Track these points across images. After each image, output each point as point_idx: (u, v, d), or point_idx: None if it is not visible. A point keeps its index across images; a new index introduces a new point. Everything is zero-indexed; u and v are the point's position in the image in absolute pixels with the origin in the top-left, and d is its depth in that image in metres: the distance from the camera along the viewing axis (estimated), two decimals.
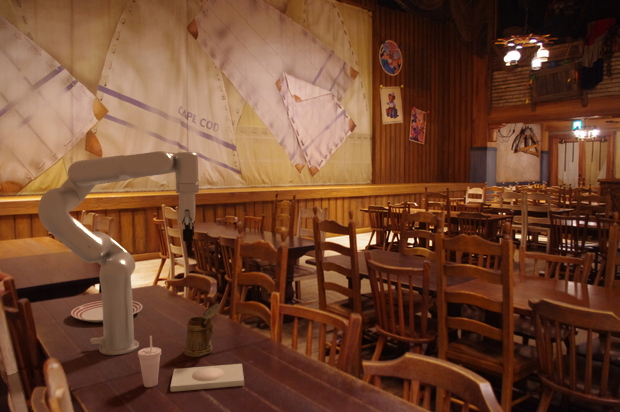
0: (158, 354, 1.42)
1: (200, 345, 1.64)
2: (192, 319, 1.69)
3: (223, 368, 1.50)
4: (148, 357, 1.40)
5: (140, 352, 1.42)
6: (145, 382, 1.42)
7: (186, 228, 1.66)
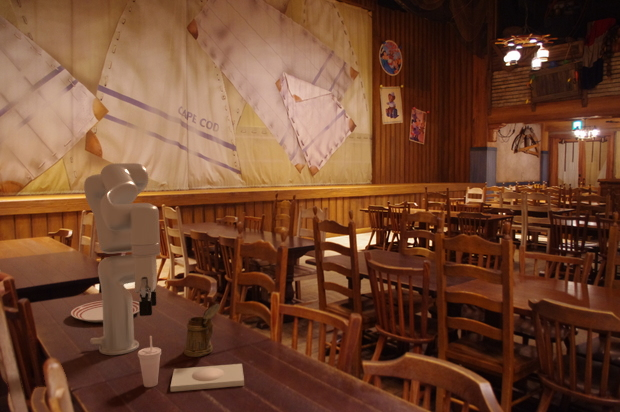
0: (158, 354, 1.42)
1: (200, 345, 1.64)
2: (192, 319, 1.69)
3: (223, 368, 1.50)
4: (148, 357, 1.40)
5: (140, 352, 1.42)
6: (145, 382, 1.42)
7: (143, 300, 1.35)
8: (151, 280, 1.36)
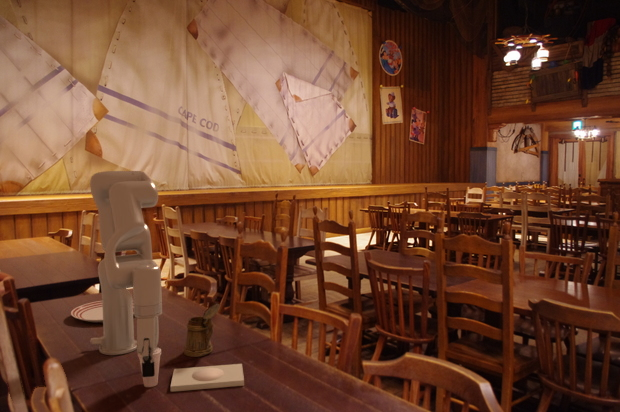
0: (158, 354, 1.42)
1: (200, 345, 1.64)
2: (192, 319, 1.69)
3: (223, 368, 1.50)
4: None
5: (140, 352, 1.42)
6: (145, 382, 1.42)
7: (146, 362, 1.38)
8: (153, 341, 1.38)
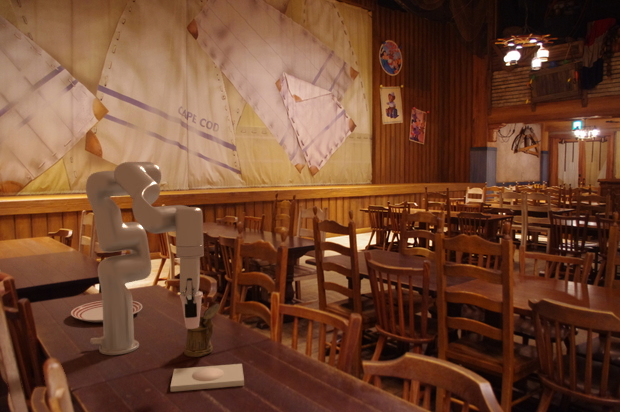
0: (200, 296, 1.42)
1: (200, 345, 1.64)
2: None
3: (223, 368, 1.50)
4: None
5: (182, 294, 1.43)
6: (187, 324, 1.42)
7: (189, 303, 1.39)
8: (196, 281, 1.39)
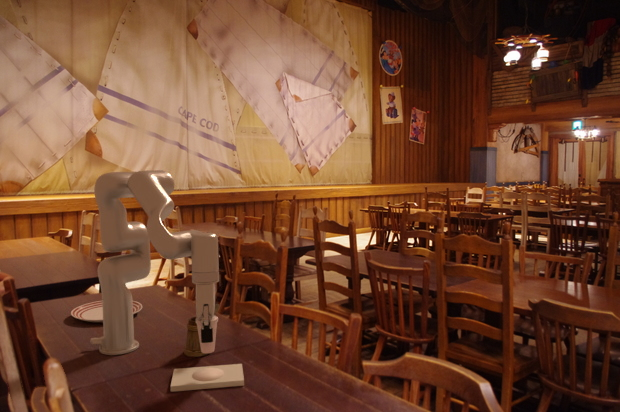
0: (216, 321, 1.44)
1: None
2: (192, 319, 1.69)
3: (223, 368, 1.50)
4: None
5: (198, 319, 1.44)
6: (203, 348, 1.44)
7: (205, 328, 1.40)
8: (212, 307, 1.40)
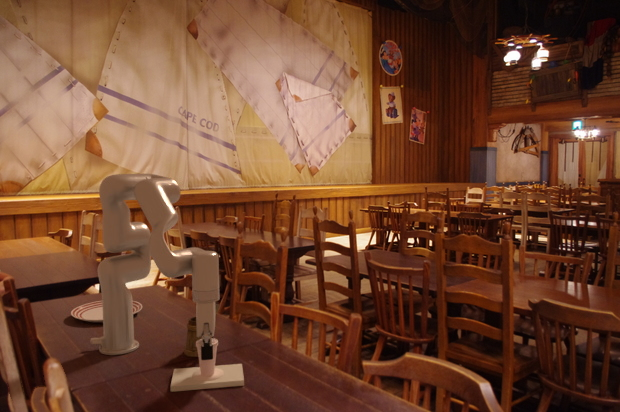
0: (216, 344, 1.45)
1: None
2: (192, 319, 1.69)
3: (223, 368, 1.50)
4: None
5: (198, 342, 1.45)
6: (203, 372, 1.44)
7: (205, 345, 1.39)
8: (212, 325, 1.41)
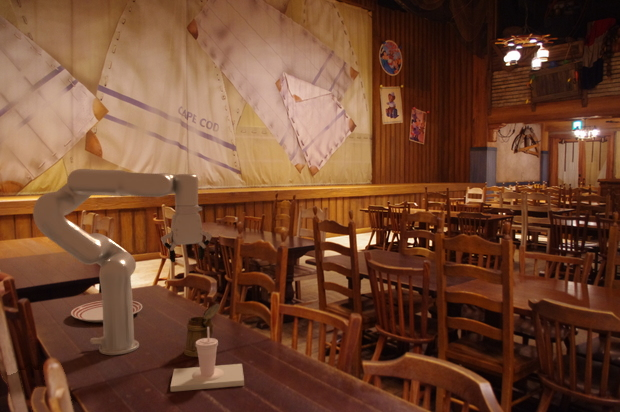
0: (216, 344, 1.44)
1: None
2: (192, 319, 1.69)
3: (223, 368, 1.50)
4: (207, 347, 1.42)
5: (198, 342, 1.45)
6: (203, 372, 1.44)
7: None
8: (174, 234, 1.68)
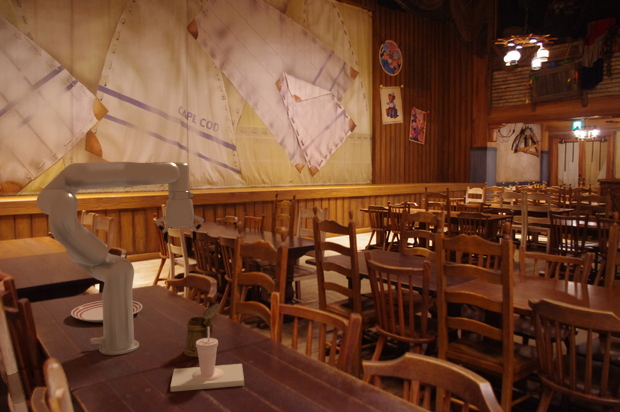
0: (216, 344, 1.44)
1: None
2: (192, 319, 1.69)
3: (223, 368, 1.50)
4: (207, 347, 1.43)
5: (198, 342, 1.45)
6: (203, 372, 1.44)
7: None
8: (165, 217, 1.84)
